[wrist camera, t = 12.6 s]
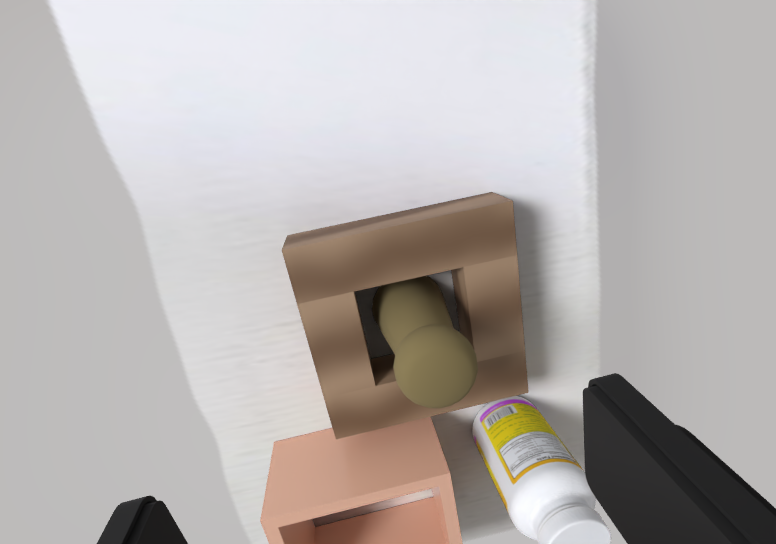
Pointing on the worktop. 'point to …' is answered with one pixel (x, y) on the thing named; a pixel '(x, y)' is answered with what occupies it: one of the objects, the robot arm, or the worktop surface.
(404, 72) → the worktop surface
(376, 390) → the socket block
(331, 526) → the collar
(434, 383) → the cork
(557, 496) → the supplement bottle
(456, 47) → the worktop surface
